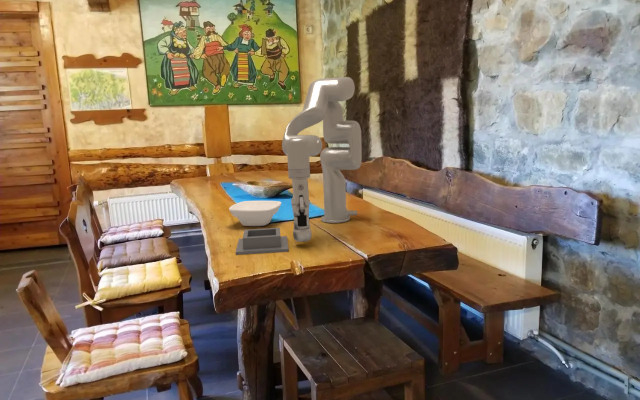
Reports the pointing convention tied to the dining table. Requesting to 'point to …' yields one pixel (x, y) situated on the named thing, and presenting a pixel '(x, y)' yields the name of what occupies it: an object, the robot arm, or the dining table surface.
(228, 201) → the dining table surface
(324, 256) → the dining table surface
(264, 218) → the bowl
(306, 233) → the plastic bottle
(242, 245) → the gray square tray
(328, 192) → the robot arm
